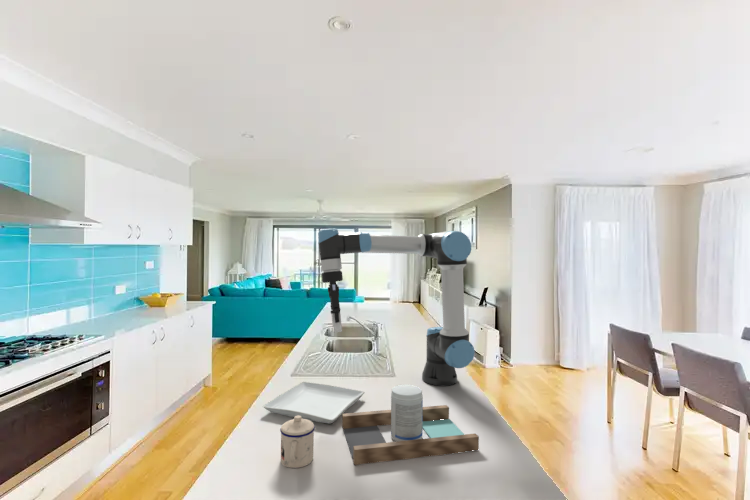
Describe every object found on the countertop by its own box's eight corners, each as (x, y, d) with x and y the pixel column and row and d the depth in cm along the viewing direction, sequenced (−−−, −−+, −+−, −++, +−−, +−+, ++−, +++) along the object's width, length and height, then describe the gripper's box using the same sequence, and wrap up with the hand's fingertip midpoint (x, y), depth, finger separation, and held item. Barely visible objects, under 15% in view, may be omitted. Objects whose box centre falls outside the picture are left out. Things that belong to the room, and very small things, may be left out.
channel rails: (446, 416, 132) (446, 405, 132) (478, 450, 110) (478, 436, 110) (342, 426, 124) (342, 413, 123) (354, 464, 102) (354, 449, 102)
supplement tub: (428, 440, 115) (429, 391, 115) (403, 449, 110) (404, 398, 110) (408, 427, 123) (409, 381, 123) (384, 435, 118) (385, 387, 118)
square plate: (333, 431, 121) (333, 419, 121) (260, 416, 130) (261, 405, 130) (365, 399, 146) (365, 389, 146) (302, 389, 156) (302, 380, 156)
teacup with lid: (283, 450, 108) (284, 409, 108) (316, 450, 108) (316, 409, 108) (273, 476, 96) (274, 429, 96) (310, 476, 96) (310, 429, 96)
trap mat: (377, 426, 123) (377, 425, 123) (391, 455, 107) (391, 453, 107) (343, 430, 121) (343, 428, 121) (352, 459, 104) (352, 457, 104)
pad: (449, 420, 129) (449, 418, 129) (473, 445, 112) (473, 444, 112) (418, 423, 127) (418, 421, 127) (438, 449, 110) (438, 448, 110)
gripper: (321, 272, 153) (326, 326, 152) (321, 271, 128) (327, 335, 127) (339, 270, 154) (345, 323, 153) (344, 269, 129) (350, 332, 128)
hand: (337, 329), depth 140 cm, fingers open, 13 cm apart
